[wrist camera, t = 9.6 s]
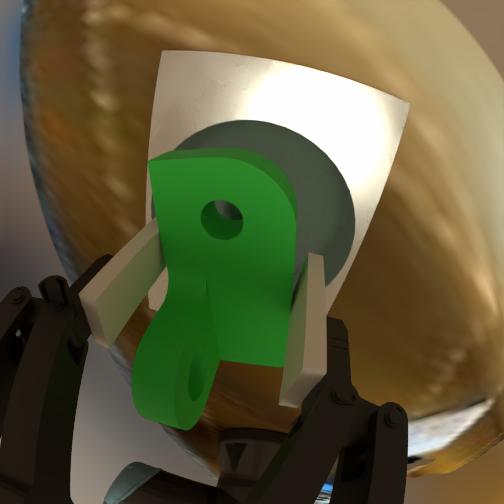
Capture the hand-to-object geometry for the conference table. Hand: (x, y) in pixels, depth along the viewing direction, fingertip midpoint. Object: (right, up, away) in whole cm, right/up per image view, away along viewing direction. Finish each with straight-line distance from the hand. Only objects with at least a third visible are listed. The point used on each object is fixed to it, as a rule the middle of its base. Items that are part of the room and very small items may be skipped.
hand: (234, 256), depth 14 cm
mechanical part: (0, 0, +1) cm, 1 cm away
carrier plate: (+1, +2, +4) cm, 5 cm away
